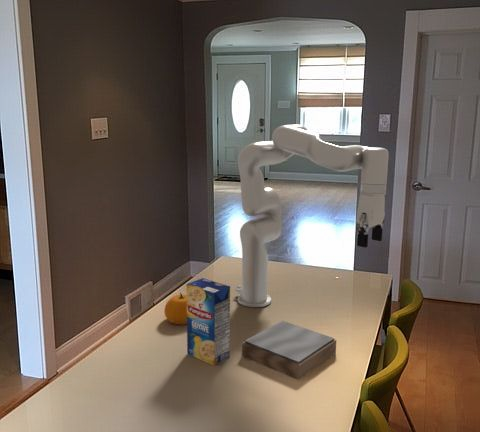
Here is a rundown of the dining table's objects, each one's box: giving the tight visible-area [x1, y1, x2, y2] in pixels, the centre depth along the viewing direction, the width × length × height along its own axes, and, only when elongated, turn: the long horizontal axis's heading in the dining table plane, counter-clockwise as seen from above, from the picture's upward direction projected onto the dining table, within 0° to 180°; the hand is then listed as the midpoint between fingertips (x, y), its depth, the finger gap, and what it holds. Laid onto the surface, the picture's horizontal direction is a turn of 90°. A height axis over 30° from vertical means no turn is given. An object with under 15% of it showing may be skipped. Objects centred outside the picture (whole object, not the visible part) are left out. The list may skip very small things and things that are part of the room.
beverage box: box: [185, 277, 231, 366], centre depth 150 cm, size 7×11×22 cm, turn 51°
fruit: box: [164, 292, 187, 325], centre depth 176 cm, size 12×12×10 cm
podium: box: [241, 320, 337, 381], centre depth 153 cm, size 20×20×5 cm
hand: (369, 243), depth 159 cm, fingers open, 9 cm apart
